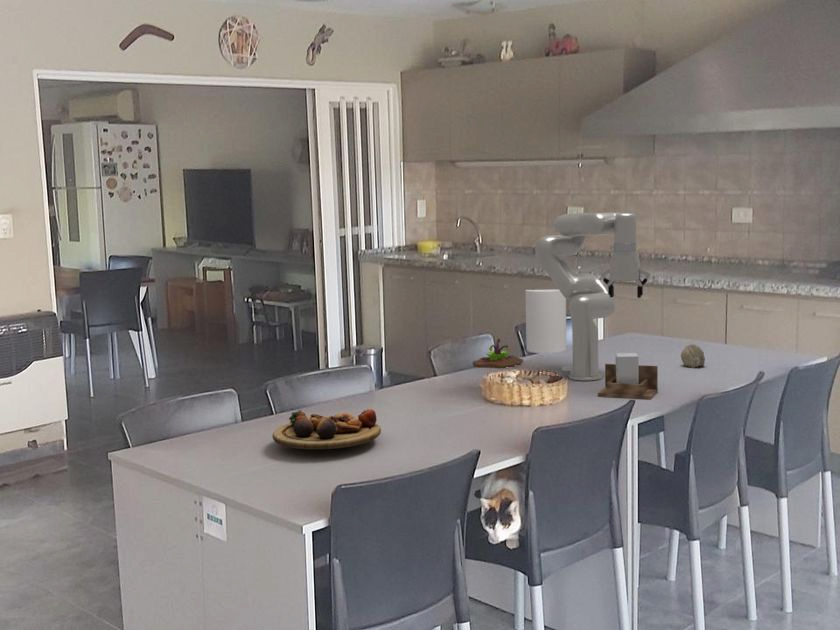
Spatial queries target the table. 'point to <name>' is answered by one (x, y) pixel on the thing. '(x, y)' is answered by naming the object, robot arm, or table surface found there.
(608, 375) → the walnut caddy
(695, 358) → the round rough stone
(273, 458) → the table surface
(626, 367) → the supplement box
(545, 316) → the cylinder
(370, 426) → the wooden plate with food
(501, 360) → the plant
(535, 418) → the table surface
